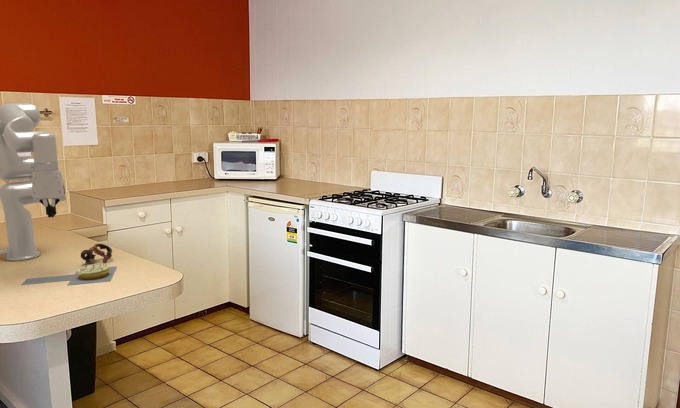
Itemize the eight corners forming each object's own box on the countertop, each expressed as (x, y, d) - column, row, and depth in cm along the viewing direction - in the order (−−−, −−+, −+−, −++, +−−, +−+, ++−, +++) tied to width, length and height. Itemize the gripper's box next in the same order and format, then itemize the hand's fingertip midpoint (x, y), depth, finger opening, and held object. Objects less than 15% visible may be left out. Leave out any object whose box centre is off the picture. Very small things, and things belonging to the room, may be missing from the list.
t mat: (15, 290, 180) (15, 290, 180) (31, 274, 198) (31, 273, 198) (110, 281, 189) (110, 280, 189) (117, 266, 207) (117, 266, 207)
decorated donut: (81, 273, 198) (80, 263, 198) (111, 270, 201) (110, 261, 200) (75, 281, 188) (74, 271, 188) (107, 278, 191) (106, 268, 190)
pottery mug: (98, 258, 221) (106, 241, 219) (110, 271, 217) (119, 254, 215) (72, 258, 210) (80, 240, 209) (84, 271, 206) (93, 254, 205)
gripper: (20, 169, 186) (25, 219, 190) (67, 168, 190) (71, 217, 194) (26, 166, 193) (32, 215, 197) (71, 165, 197) (75, 213, 201)
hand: (51, 216), depth 195 cm, fingers closed
